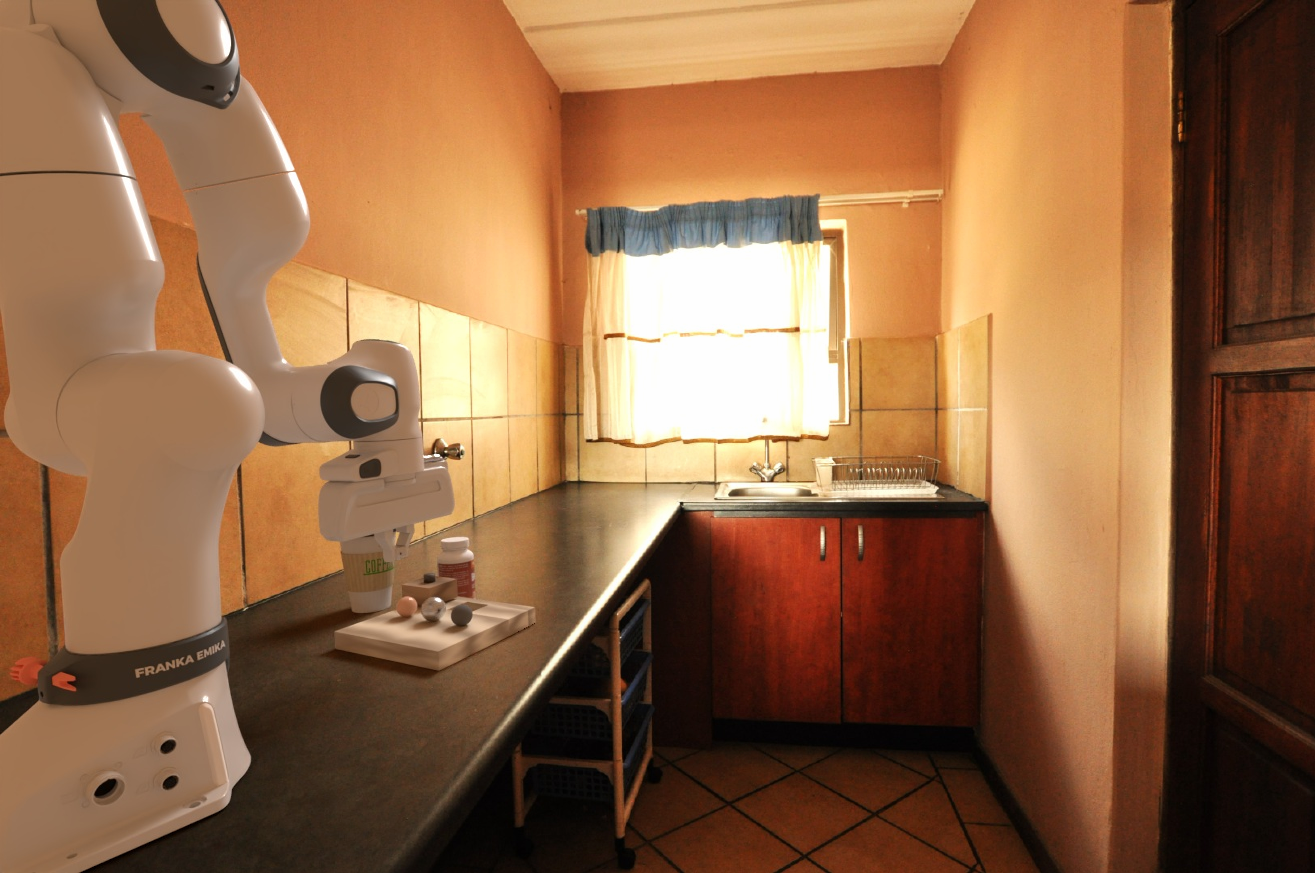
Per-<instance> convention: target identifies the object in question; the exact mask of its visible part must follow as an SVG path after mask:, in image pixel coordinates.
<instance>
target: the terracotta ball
mask: <svg viewBox="0 0 1315 873" xmlns="http://www.w3.org/2000/svg"><path fill="white" fill-rule="evenodd" d="M395 605H396V606H395V607H396V608H395V610H397V612H398V614H399V615H401V616H403V617H409V616H411V615H413V614H414V613H415V612H416V610H417V602H416V600H415V599H414V598H412V597H409V596H406V597H403V598H402V597H401V598H399V600H398V601H397V603H396V604H395Z"/></svg>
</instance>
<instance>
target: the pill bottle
mask: <svg viewBox="0 0 1315 873" xmlns="http://www.w3.org/2000/svg"><path fill="white" fill-rule="evenodd" d="M469 546H470V539H469V537H466V536H455V537H454V536H453V537H447V538H443V539H441V540H440V549H441V550H442V552H440V553H439V554H438V556H437V557H436V564H437V565H436V567H437V569H436V570H437V576H438V577H446V578H454V579H457V588H458V597H465V598H473V599H477V598H476V596H477V595H476V593H477V591H476V572H475V556H474V553H473V552H472V550H470V549H468V548H469Z"/></svg>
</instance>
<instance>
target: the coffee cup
mask: <svg viewBox="0 0 1315 873" xmlns="http://www.w3.org/2000/svg"><path fill="white" fill-rule="evenodd" d="M396 534H397V532H396V529H393V537H391V538H390V539H391V541H392V543H393V545H394V546H395V545H396ZM339 544H340V549H341V550H340V556H341V562H342V563H341V564H342V568H343V573H344V579H345V585H346V589H347V592H348V596H349V601H350V608H351V612H353V613H357V614H364V613H365V614H369V613H370V614H371V613H376V612H379V611H380V612H381V611H383V610H387V609H388V608H390V607H391V605H392V594H393V593H392V592H393V585H394V579H395V578H394V577H395V566H396V561H394V562H385V561H384V559H383V549H382V548H381V547H380V546H379V544H378V543H377V541H376V540H375V538H374V534H372V535H368V536H364V537H360V538H356V539H352V540H348V541H344V542H339Z"/></svg>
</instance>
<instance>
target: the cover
mask: <svg viewBox="0 0 1315 873" xmlns="http://www.w3.org/2000/svg"><path fill="white" fill-rule="evenodd" d="M401 593H402V596H401V598H403V597H406V596H409V597H412V598H414V599H415V600H416V602H417V605H418V606H422V604H423V603H424V601H425V600H427V599H428V598H431V597H438V598H441V599H442V600H443V601H444V602H446V601H448V600H451V599H454V598H456V597H458V588H457V579H454V578H446V577H438V575H436V573H435V572H427V573H424V574H423V577H422V578H418V579H415V580H412V581H409V582H405V583H402V584H401Z"/></svg>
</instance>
